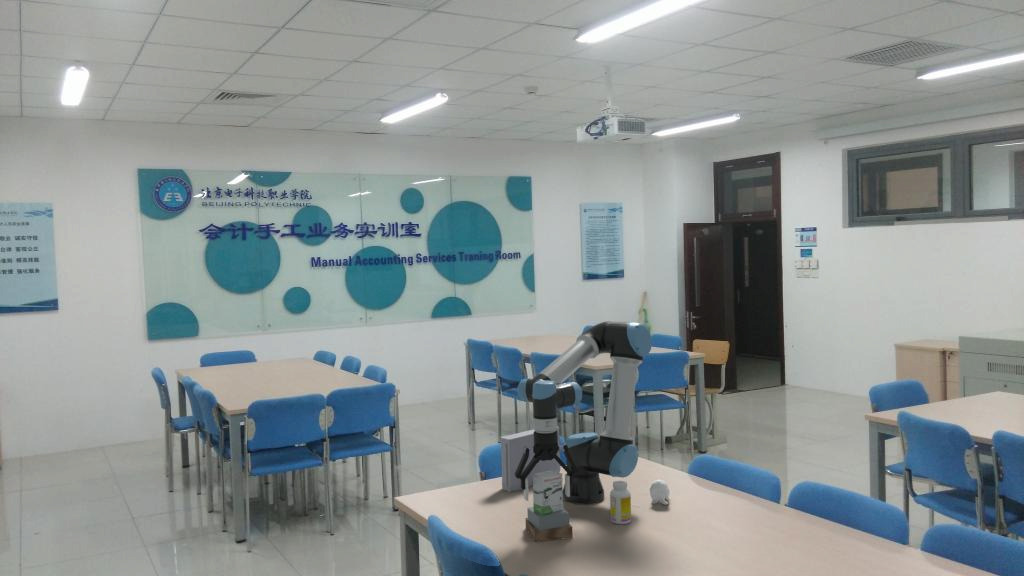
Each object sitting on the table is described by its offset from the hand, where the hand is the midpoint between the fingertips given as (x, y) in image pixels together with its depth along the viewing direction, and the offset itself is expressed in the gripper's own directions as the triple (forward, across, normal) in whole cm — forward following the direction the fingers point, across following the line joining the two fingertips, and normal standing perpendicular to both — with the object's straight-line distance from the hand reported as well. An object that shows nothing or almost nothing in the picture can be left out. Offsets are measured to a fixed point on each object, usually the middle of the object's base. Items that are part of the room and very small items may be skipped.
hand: (547, 497), depth 239 cm
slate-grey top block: (+8, 0, 0) cm, 8 cm away
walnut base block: (+12, 0, +1) cm, 12 cm away
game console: (+12, +8, +54) cm, 56 cm away
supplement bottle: (+12, +26, +4) cm, 29 cm away
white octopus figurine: (+12, +47, +19) cm, 52 cm away
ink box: (+4, 0, 0) cm, 4 cm away
